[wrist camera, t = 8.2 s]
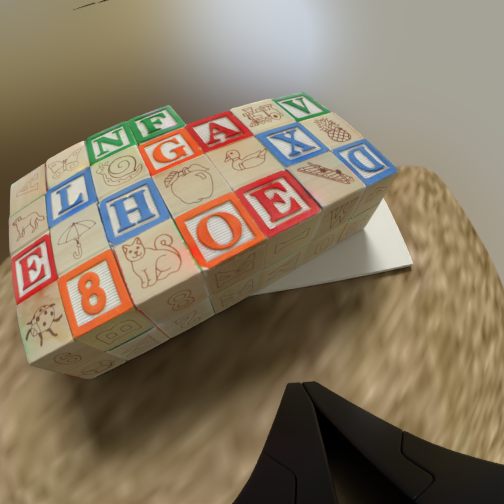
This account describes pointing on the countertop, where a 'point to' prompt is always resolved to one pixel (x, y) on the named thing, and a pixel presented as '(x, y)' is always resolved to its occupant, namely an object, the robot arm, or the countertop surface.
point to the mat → (352, 256)
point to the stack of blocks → (179, 224)
